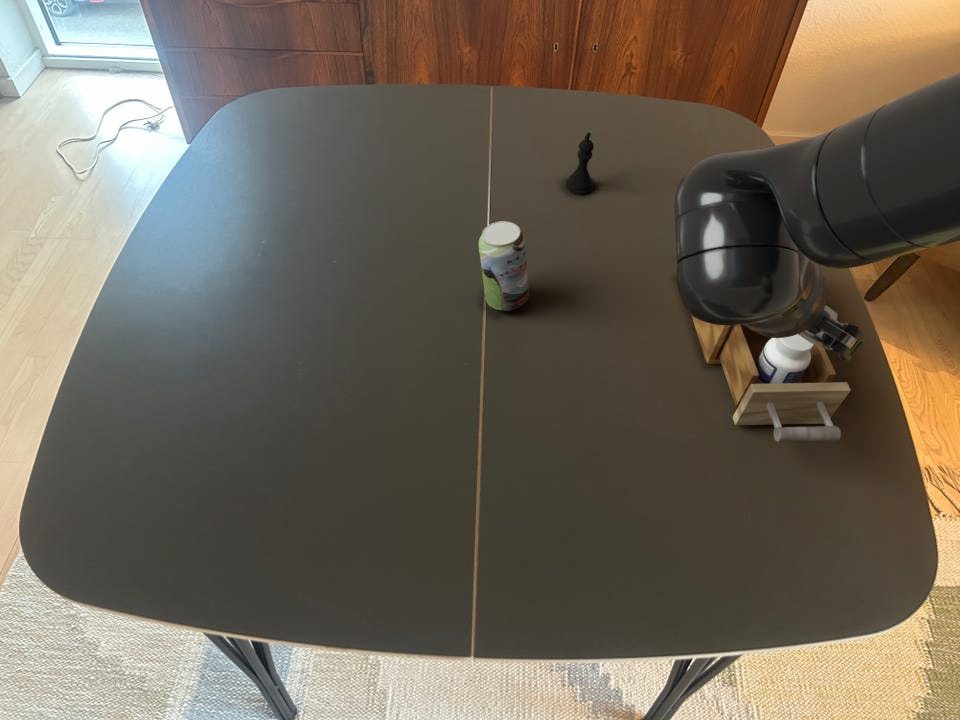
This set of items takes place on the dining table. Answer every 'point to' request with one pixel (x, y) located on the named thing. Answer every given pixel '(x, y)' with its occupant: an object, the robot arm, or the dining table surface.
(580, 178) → the chess piece
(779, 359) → the pill bottle
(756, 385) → the drawer
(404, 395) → the dining table surface
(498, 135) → the dining table surface
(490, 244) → the beverage can
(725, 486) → the dining table surface
